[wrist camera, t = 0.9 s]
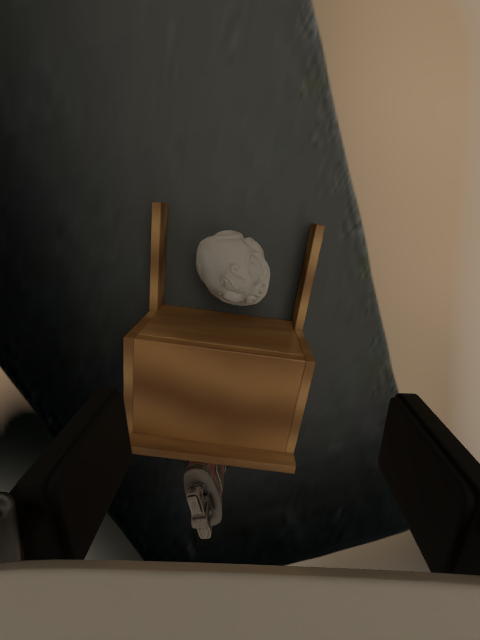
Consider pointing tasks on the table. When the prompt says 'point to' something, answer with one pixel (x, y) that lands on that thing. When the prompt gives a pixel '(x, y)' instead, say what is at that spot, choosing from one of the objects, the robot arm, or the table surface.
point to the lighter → (204, 495)
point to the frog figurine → (233, 268)
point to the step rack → (217, 375)
